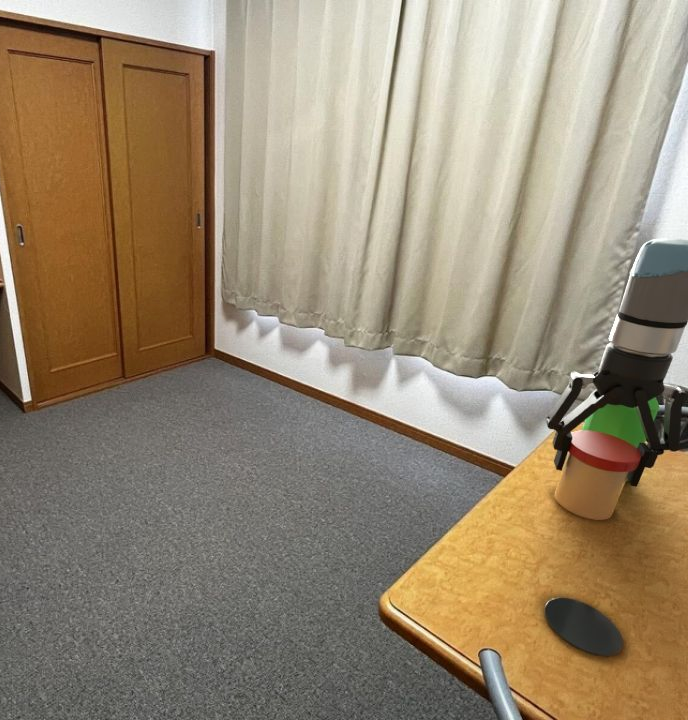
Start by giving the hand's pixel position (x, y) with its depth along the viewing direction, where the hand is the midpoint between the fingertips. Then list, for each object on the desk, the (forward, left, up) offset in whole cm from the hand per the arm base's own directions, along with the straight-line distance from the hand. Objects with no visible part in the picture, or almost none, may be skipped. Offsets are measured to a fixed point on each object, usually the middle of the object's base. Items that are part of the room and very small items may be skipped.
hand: (593, 473), depth 78 cm
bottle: (-4, -13, -7) cm, 15 cm away
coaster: (+3, +28, -7) cm, 29 cm away
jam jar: (0, 0, -7) cm, 7 cm away
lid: (0, 0, +5) cm, 5 cm away
